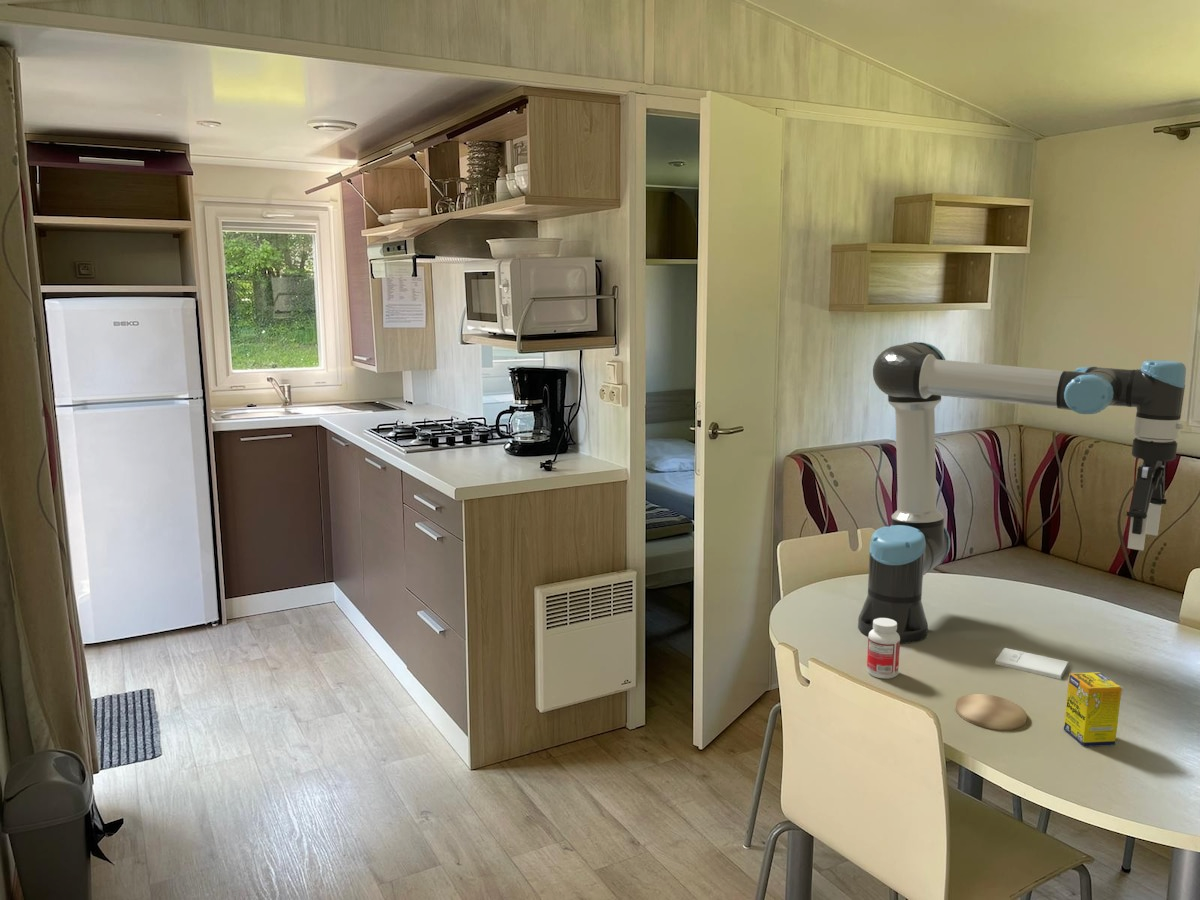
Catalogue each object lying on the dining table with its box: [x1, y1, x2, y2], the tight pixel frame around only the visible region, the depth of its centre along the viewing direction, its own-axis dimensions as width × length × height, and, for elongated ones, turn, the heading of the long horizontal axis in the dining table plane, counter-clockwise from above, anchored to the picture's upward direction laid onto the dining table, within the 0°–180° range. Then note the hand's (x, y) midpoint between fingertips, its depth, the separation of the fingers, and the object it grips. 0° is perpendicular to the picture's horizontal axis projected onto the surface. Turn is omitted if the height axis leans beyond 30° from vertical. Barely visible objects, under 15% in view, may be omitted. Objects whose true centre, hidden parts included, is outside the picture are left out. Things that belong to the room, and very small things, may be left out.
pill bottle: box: [866, 618, 901, 680], centre depth 181 cm, size 6×6×11 cm
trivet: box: [955, 693, 1028, 731], centre depth 165 cm, size 12×12×1 cm
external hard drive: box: [994, 647, 1070, 680], centre depth 186 cm, size 2×8×12 cm
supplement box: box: [1063, 671, 1123, 748], centre depth 155 cm, size 6×6×11 cm
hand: (1142, 541), depth 181 cm, fingers open, 13 cm apart
